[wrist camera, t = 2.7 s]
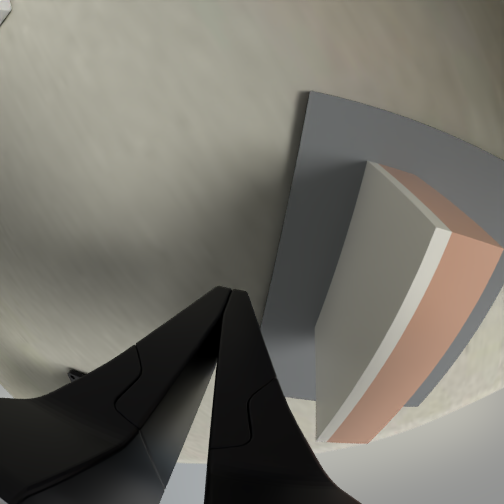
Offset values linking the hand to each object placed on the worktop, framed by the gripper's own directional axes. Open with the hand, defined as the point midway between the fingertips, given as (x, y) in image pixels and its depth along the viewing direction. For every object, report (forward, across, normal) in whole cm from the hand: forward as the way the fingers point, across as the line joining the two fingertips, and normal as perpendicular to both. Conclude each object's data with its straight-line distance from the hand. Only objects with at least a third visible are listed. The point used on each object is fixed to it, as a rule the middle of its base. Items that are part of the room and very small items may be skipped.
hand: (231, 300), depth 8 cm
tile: (+4, -5, 0) cm, 6 cm away
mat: (+5, -7, +2) cm, 9 cm away
